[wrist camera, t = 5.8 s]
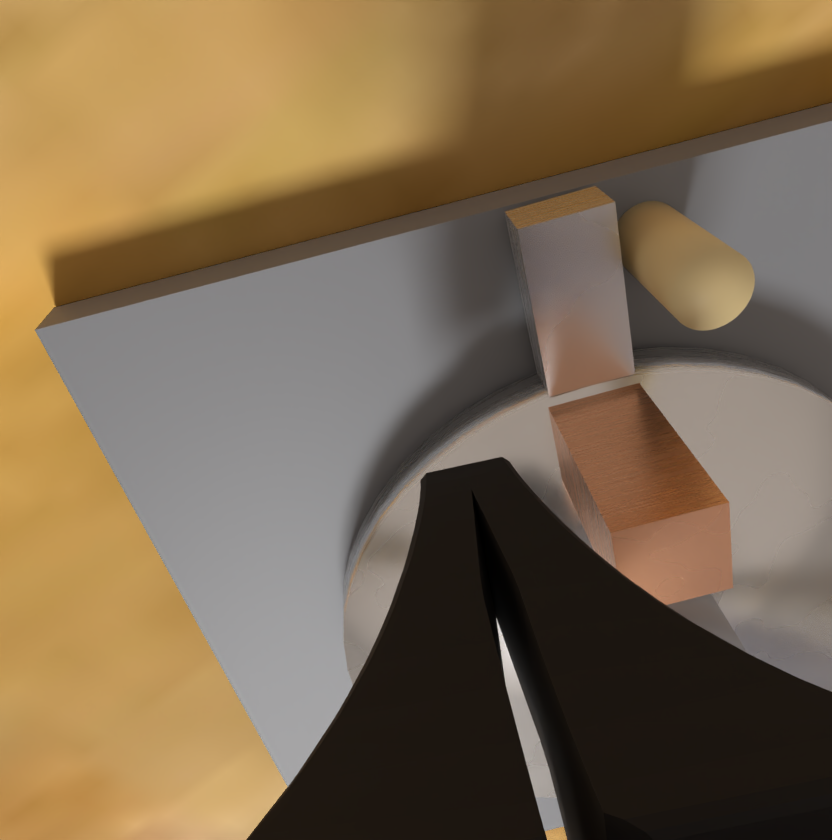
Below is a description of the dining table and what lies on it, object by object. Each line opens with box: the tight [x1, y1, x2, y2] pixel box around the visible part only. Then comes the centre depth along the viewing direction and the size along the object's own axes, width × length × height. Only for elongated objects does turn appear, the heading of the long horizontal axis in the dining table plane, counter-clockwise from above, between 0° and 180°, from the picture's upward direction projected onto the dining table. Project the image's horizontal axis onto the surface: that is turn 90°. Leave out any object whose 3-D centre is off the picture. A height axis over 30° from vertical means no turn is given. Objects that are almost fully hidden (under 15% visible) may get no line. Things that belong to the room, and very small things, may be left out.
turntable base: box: [35, 103, 832, 831], centre depth 16 cm, size 18×18×4 cm
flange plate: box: [343, 186, 832, 798], centre depth 14 cm, size 12×15×4 cm
